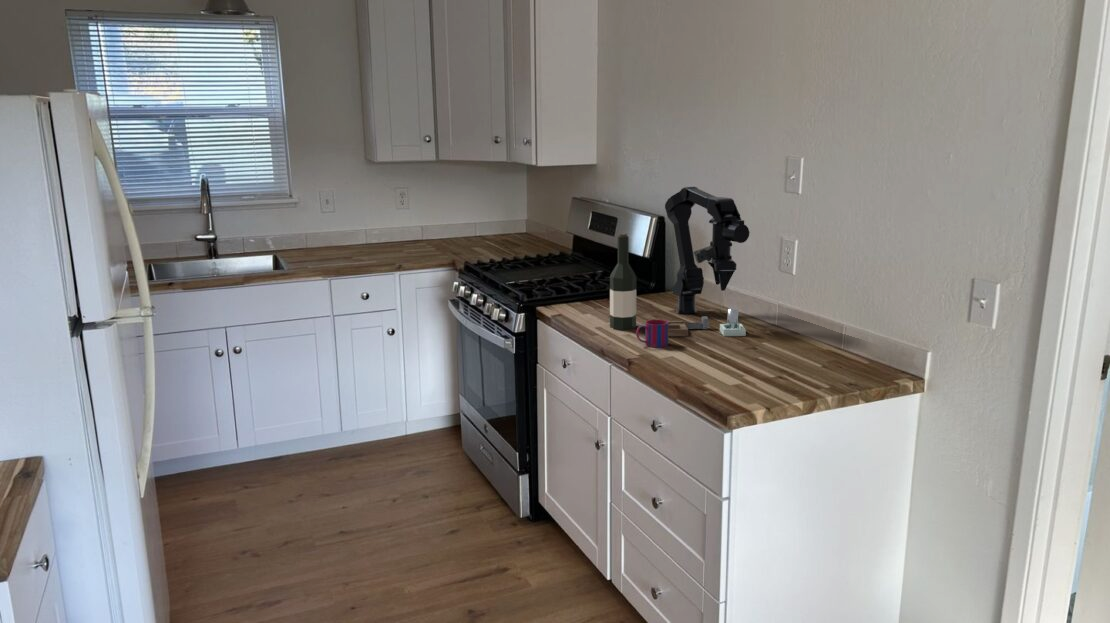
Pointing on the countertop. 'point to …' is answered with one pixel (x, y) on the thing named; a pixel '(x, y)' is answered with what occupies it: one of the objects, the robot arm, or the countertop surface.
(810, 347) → the countertop surface
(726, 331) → the tray
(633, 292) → the wine bottle
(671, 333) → the socket block
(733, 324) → the polished steel rod
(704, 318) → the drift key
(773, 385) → the countertop surface
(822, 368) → the countertop surface
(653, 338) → the mug
